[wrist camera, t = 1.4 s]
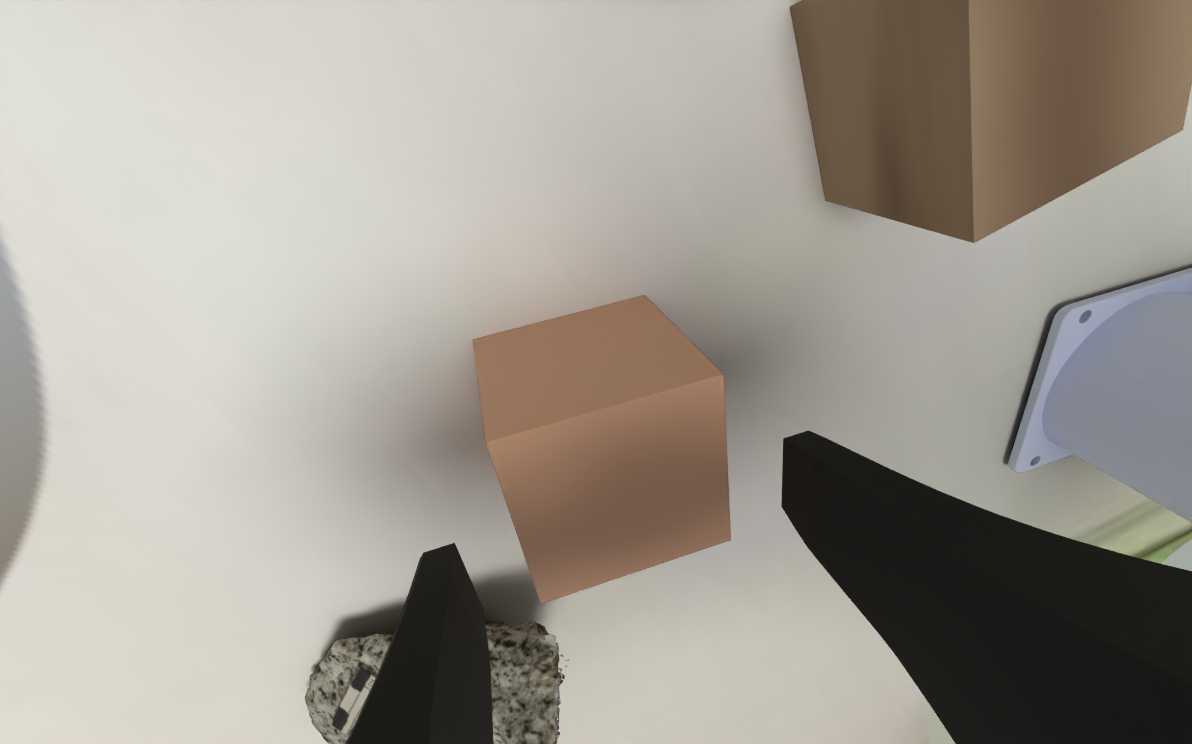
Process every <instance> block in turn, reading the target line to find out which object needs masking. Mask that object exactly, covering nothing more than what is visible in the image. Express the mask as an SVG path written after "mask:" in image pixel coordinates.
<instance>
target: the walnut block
mask: <svg viewBox="0 0 1192 744" xmlns="http://www.w3.org/2000/svg"><path fill="white" fill-rule="evenodd" d="M790 12H791V17H792V22H793V28H794V33H795V39H796V44H797V50H798V55H799V60H800V66H801V71H802V77H803V82H804V87H805V93H806V98H807V104H808V109H809V115H810V120H811V125H812V131H813V136H814V142H815V147H816V153H817V158H818V163H819V169H820V174H821V180H822V185H823V190H824V196H825V201H829V202H832V203H836V204H839V205H843V206H846V207H850V208H853V209H857V210H860V211H864V212H867V213H871V214H874V215H878V216H881V217H885V218H888V219H892V220H895V221H899V222H902V223H906V224H909V225H913V226H916V227H920V228H923V229H927V230H930V231H934V232H937V233H941V234H944V235H948V236H951V237H955V238H958V239H962V240H965V241H969V242H972V243H975V242H977V241H978V240H980V239H982V238H984V237H986V236H988V235H990V234H991V233H993V232H995V231H997V230H999V229H1001V228H1002V227H1004V226H1006V225H1008V224H1010V223H1012V222H1014V221H1015V220H1017V219H1019V218H1021V217H1023V216H1025V215H1027V214H1028V213H1030V212H1032V211H1034V210H1036V209H1038V208H1039V207H1041V206H1043V205H1045V204H1047V203H1049V202H1051V201H1052V200H1054V199H1056V198H1058V197H1060V196H1062V195H1063V194H1065V193H1067V192H1069V191H1071V190H1073V189H1075V188H1076V187H1078V186H1080V185H1082V184H1084V183H1086V182H1088V181H1089V180H1091V179H1093V178H1095V177H1097V176H1099V175H1100V174H1102V173H1104V172H1106V171H1108V170H1110V169H1112V168H1113V167H1115V166H1117V165H1119V164H1121V163H1123V162H1124V161H1126V160H1128V159H1130V158H1132V157H1134V156H1136V155H1137V154H1139V153H1141V152H1143V151H1145V150H1147V149H1149V148H1150V147H1152V146H1154V145H1156V144H1158V143H1160V142H1161V141H1163V140H1165V139H1167V138H1169V137H1171V136H1173V135H1174V134H1176V133H1178V132H1180V131H1182V130H1183V126H1184V121H1185V116H1186V111H1187V105H1188V100H1189V95H1190V90H1191V85H1192V0H802V1H800V2H798V3H796V4H794V5H792V6H791V7H790Z"/></svg>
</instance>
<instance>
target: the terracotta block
mask: <svg viewBox="0 0 1192 744" xmlns="http://www.w3.org/2000/svg"><path fill="white" fill-rule="evenodd" d="M473 346H474V354H475V362H476V370H477V378H478V386H479V393H480V401H481V409H482V417H483V425H484V433H485V441H486V445H487V448H488V451H489V454H490V457H491V459H492V462H493V465H494V468H495V471H496V474H497V477H498V480H499V483H500V486H501V489H502V492H503V495H504V497H505V500H506V503H507V506H508V509H509V512H510V515H511V518H512V521H513V524H514V527H515V530H516V533H517V535H518V538H519V541H520V544H521V547H522V550H523V553H524V556H525V559H526V562H527V565H528V568H529V571H530V573H531V576H532V579H533V582H534V585H535V588H536V591H537V594H538V597H539V600H540V603H541V604H543V603H546V602H549V601H551V600H554V599H557V598H560V597H563V596H566V595H569V594H572V593H575V592H578V591H581V590H584V589H587V588H590V587H593V586H596V585H599V584H602V583H605V582H608V581H611V580H614V579H617V578H620V577H623V576H626V575H629V574H632V573H634V572H637V571H640V570H643V569H646V568H649V567H652V566H655V565H658V564H661V563H664V562H667V561H670V560H673V559H676V558H679V557H682V556H685V555H688V554H691V553H694V552H697V551H700V550H703V549H706V548H709V547H712V546H715V545H717V544H720V543H723V542H726V541H729V540H731V532H730V509H729V486H728V463H727V440H726V417H725V395H724V374H723V373H722V372H721V371H720V370H719V369H718V368H717V367H716V366H715V365H714V364H713V363H712V362H711V361H710V360H709V359H708V358H707V357H706V356H705V355H704V354H703V353H702V352H701V351H700V350H699V349H698V348H697V347H696V346H695V345H694V344H693V343H692V342H691V341H690V340H689V339H688V338H687V337H686V336H685V335H684V334H683V333H682V332H681V331H680V330H679V329H678V328H677V327H676V326H675V325H674V324H673V323H672V322H671V321H670V320H669V319H668V318H667V317H666V316H665V315H664V314H663V313H662V312H661V311H660V310H659V309H658V308H657V307H656V306H655V305H654V304H653V303H652V302H651V301H650V300H649V299H648V298H647V297H646V296H645V295H643V296H639V297H635V298H631V299H627V300H623V301H619V302H616V303H612V304H608V305H604V306H600V307H596V308H592V309H589V310H585V311H581V312H577V313H573V314H569V315H565V316H561V317H558V318H554V319H550V320H546V321H542V322H538V323H534V324H531V325H527V326H523V327H519V328H515V329H511V330H507V331H504V332H500V333H496V334H492V335H488V336H484V337H480V338H477V339H473Z"/></svg>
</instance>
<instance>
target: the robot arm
mask: <svg viewBox="0 0 1192 744" xmlns="http://www.w3.org/2000/svg"><path fill="white" fill-rule="evenodd" d="M1071 455H1075V456H1076V457H1078V458H1080V459H1082V460H1083V461H1085V462H1087V463H1089V464H1090V465H1092V466H1094V467H1096V468H1097V469H1099V470H1101V471H1103V472H1104V473H1106V474H1108V475H1110V476H1111V477H1113V478H1115V479H1117V480H1118V481H1120V482H1122V483H1124V484H1125V485H1127V486H1129V487H1130V488H1132V489H1134V490H1136V491H1137V492H1139V493H1141V494H1143V495H1144V496H1146V497H1148V498H1150V499H1151V500H1153V501H1155V502H1157V503H1158V504H1160V505H1162V506H1164V507H1165V508H1167V509H1169V510H1171V511H1172V512H1174V513H1176V514H1178V515H1179V516H1181V517H1183V518H1184V519H1186V520H1188V521H1190V522H1191V523H1192V268H1189V269H1186V270H1182V271H1179V272H1175V273H1172V274H1169V275H1165V276H1162V277H1159V278H1155V279H1152V280H1149V281H1145V282H1142V283H1139V284H1135V285H1132V286H1129V287H1125V288H1122V289H1119V290H1115V291H1112V292H1109V293H1105V294H1102V295H1098V296H1095V297H1092V298H1088V299H1085V300H1082V301H1078V302H1075V303H1072V304H1068V305H1066V306H1064V307H1062V308H1061V309H1060V310H1059V311H1058V312H1057V313H1056V315H1055V317H1054V319H1053V322H1052V325H1051V328H1050V331H1049V334H1048V338H1047V341H1046V344H1045V347H1044V350H1043V353H1042V357H1041V360H1040V363H1039V366H1038V369H1037V373H1036V376H1035V379H1034V382H1033V385H1032V389H1031V392H1030V395H1029V398H1028V401H1027V405H1026V408H1025V411H1024V414H1023V417H1022V420H1021V424H1020V427H1019V430H1018V433H1017V436H1016V440H1015V443H1014V446H1013V449H1012V452H1011V456H1010V459H1009V462H1008V466H1009V468H1010V469H1012V470H1014V471H1015V472H1017V473H1021V472H1025V471H1028V470H1031V469H1033V468H1036V467H1039V466H1042V465H1045V464H1048V463H1051V462H1053V461H1056V460H1059V459H1062V458H1065V457H1068V456H1071ZM782 508H783V510H784V511H785V513H786V514H787V516H788V518H789V519H790V521H791V522H792V524H793V526H794V527H795V529H796V530H797V532H798V533H799V535H800V537H801V538H802V540H803V541H804V543H805V544H806V546H807V547H808V548H809V550H810V551H811V552H812V553H813V555H814V556H815V557H816V558H817V559H818V561H819V562H820V563H821V564H822V566H823V567H824V568H825V569H826V570H827V572H828V573H829V574H830V575H831V577H832V578H833V579H834V580H835V581H836V583H837V584H838V585H839V586H840V587H841V589H842V590H843V591H844V592H845V593H846V595H847V596H848V597H849V598H850V599H851V601H852V602H853V603H854V604H855V605H856V607H857V608H858V609H859V610H860V611H861V613H862V614H863V615H864V616H865V617H866V619H867V620H868V621H869V622H870V623H871V625H872V626H873V627H874V628H875V629H876V631H877V632H878V633H879V634H880V636H881V637H882V638H883V639H884V641H885V642H886V643H887V645H888V646H889V647H890V648H891V650H892V651H893V652H894V654H895V655H896V656H897V658H898V659H899V660H900V662H901V663H902V665H903V666H904V668H905V669H906V671H907V672H908V673H909V675H910V676H911V678H912V679H913V681H914V682H915V684H916V685H917V686H918V688H919V689H920V691H921V692H922V694H923V695H924V697H925V698H926V700H927V701H928V702H929V704H930V705H931V707H932V708H933V710H934V711H935V713H936V714H937V716H938V718H939V719H940V721H941V722H942V723H943V725H944V726H945V728H946V730H947V731H948V733H949V734H950V736H951V737H952V739H953V740H954V742H955V743H956V744H1192V571H1188V570H1184V569H1179V568H1176V567H1171V566H1167V565H1163V564H1159V563H1155V562H1151V561H1147V560H1144V559H1140V558H1136V557H1132V556H1128V555H1124V554H1121V553H1117V552H1114V551H1110V550H1107V549H1103V548H1100V547H1097V546H1093V545H1090V544H1086V543H1083V542H1079V541H1076V540H1072V539H1069V538H1066V537H1063V536H1060V535H1056V534H1053V533H1050V532H1047V531H1044V530H1041V529H1038V528H1035V527H1032V526H1030V525H1027V524H1024V523H1021V522H1018V521H1015V520H1012V519H1009V518H1006V517H1004V516H1001V515H998V514H995V513H993V512H990V511H987V510H985V509H982V508H979V507H977V506H974V505H972V504H970V503H967V502H965V501H962V500H960V499H957V498H955V497H952V496H950V495H948V494H945V493H943V492H940V491H938V490H936V489H933V488H931V487H929V486H926V485H924V484H922V483H920V482H917V481H915V480H913V479H911V478H908V477H906V476H904V475H902V474H900V473H898V472H895V471H893V470H891V469H889V468H887V467H885V466H883V465H880V464H878V463H876V462H874V461H872V460H870V459H868V458H866V457H864V456H862V455H860V454H857V453H855V452H853V451H851V450H849V449H847V448H845V447H843V446H841V445H839V444H837V443H835V442H833V441H830V440H828V439H826V438H824V437H822V436H820V435H818V434H815V433H813V432H811V431H806V432H803V433H799V434H796V435H793V436H790V437H787V438H784V439H783V474H782ZM345 744H493V716H492V689H491V665H490V654H489V647H488V639H487V632H486V626H485V619H484V613H483V607H482V605H481V602H480V600H479V598H478V596H477V593H476V591H475V589H474V586H473V584H472V582H471V580H470V577H469V575H468V573H467V570H466V568H465V566H464V564H463V561H462V559H461V557H460V554H459V552H458V550H457V547H456V545H455V543H453V544H450V545H447V546H443V547H440V548H437V549H434V550H431V551H428V552H425V553H423V555H422V556H421V558H420V560H419V563H418V566H417V569H416V573H415V576H414V579H413V582H412V585H411V588H410V591H409V594H408V596H407V599H406V602H405V605H404V608H403V610H402V613H401V616H400V619H399V621H398V624H397V627H396V629H395V632H394V634H393V637H392V639H391V642H390V644H389V647H388V649H387V652H386V654H385V657H384V659H383V662H382V664H381V667H380V669H379V671H378V674H377V676H376V678H375V681H374V683H373V685H372V687H371V689H370V692H369V694H368V696H367V698H366V700H365V703H364V705H363V707H362V709H361V712H360V714H359V716H358V718H357V720H356V723H355V725H354V727H353V729H352V731H351V733H350V735H349V737H348V739H347V741H346V743H345Z"/></svg>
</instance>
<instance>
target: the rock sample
mask: <svg viewBox="0 0 1192 744" xmlns="http://www.w3.org/2000/svg"><path fill="white" fill-rule="evenodd" d="M485 626H486V632H487V639H488V647H489V654H490V665H491V689H492V716H493V744H557V738H558V737H559V735H560V732H558V729H559V724H558V723H559V720H557V718H558V719H559V707H558V705H559V704H560V699H559V686H560V684H561V683H562V682H563V680H561V678H563V679H564V677H565V675H563V674H561V672H560V673H558V662H559V655H558V651H559V646H558V643H556V636H554V635H549V633H547V631H546V629H545V627H544V626H542V625H540V624H538V623H536V622H532V623H530V622H524V623H523V624H521V625H518V626H515V627H512V628H510V627H508V626H507V625H505V624H504V623H503V622H494V623H488V624H486V625H485ZM389 630H391V629H389ZM392 637H393V635H390V634H373V635H370V636H368V637H352V638H348V639H340V640H335V642H334V644H333V645H332V647H331V648H330V649H329V650H328V654H327V655H326V656H325V657H324V659H323V660H321V662H320V664H319V668H318V669H317V670H316V671H315V672H314V673H313V674H312V675H310V688H309V689H308V690H307V693H306V696H305V701H306V704H307V707H308V710H309V715H310V717H311V719H312V723H313V725H314V727H315V728H316V729H317V730H318V731H319V732H320V733H321V734H322V736H323V738H324V739H325V740H326V741H327V743H328V744H345V743H346V741H347V739H348V737H349V735H350V733H351V731H352V729H353V727H354V725H355V723H356V720H357V718H358V716H359V714H360V712H361V709H362V707H363V705H364V703H365V700H366V698H367V696H368V694H369V692H370V689H371V687H372V685H373V683H374V681H375V678H376V676H377V674H378V671H379V669H380V667H381V664H382V662H383V659H384V657H385V654H386V652H387V649H388V647H389V644H390V642H391V639H392ZM560 656H562V657H563V654H561V655H560ZM566 661H569V660H566ZM565 667H567V665H566V666H565ZM559 669H560V668H559ZM560 671H562V669H560ZM561 675H562V677H561ZM302 689H303V688H302ZM556 731H557V732H556Z"/></svg>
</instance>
